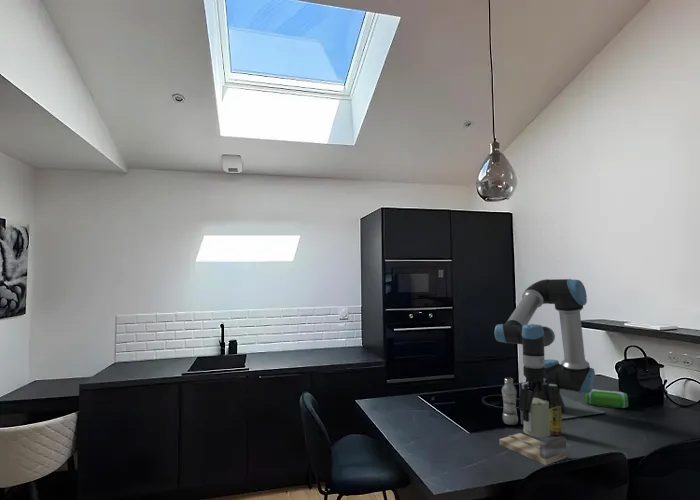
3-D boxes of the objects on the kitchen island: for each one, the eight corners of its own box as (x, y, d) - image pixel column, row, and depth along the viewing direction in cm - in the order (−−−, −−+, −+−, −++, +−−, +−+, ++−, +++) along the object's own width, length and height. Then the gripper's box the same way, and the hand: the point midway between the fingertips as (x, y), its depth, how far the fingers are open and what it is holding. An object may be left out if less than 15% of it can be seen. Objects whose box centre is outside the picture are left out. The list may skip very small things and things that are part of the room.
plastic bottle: (517, 422, 180) (516, 377, 181) (518, 427, 174) (517, 381, 175) (502, 420, 182) (500, 376, 183) (503, 426, 176) (501, 379, 177)
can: (531, 438, 145) (530, 404, 145) (518, 428, 154) (517, 396, 155) (555, 436, 145) (554, 403, 146) (541, 427, 155) (540, 395, 155)
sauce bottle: (555, 437, 163) (553, 387, 164) (541, 432, 169) (539, 384, 170) (565, 434, 166) (563, 385, 167) (552, 429, 172) (549, 382, 173)
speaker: (626, 406, 199) (625, 390, 200) (628, 410, 193) (628, 394, 193) (585, 401, 207) (585, 386, 208) (586, 405, 201) (586, 390, 201)
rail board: (499, 444, 157) (498, 426, 158) (519, 437, 163) (519, 420, 164) (545, 465, 140) (544, 444, 140) (566, 457, 146) (565, 437, 146)
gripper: (523, 371, 143) (526, 436, 141) (561, 364, 153) (563, 424, 152) (506, 367, 149) (508, 429, 148) (543, 360, 160) (545, 418, 158)
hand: (536, 427), depth 150 cm, fingers closed on can, 9 cm apart
